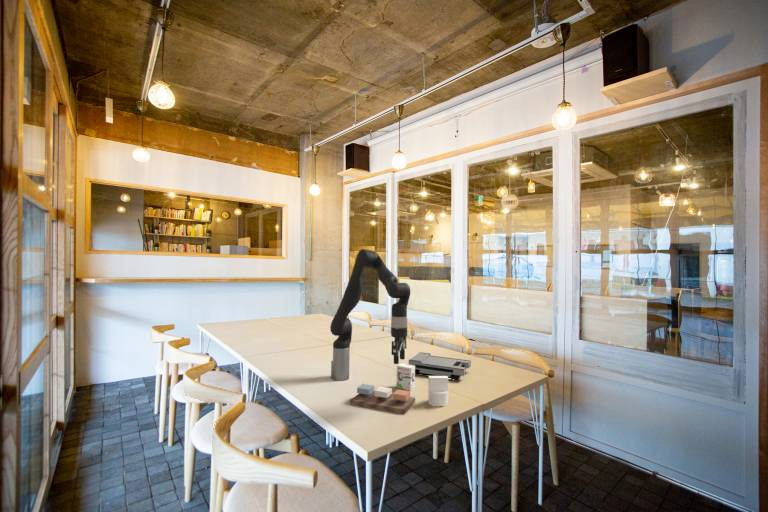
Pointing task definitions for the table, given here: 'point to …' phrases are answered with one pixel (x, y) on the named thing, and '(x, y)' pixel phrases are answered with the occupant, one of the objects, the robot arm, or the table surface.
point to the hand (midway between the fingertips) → (399, 361)
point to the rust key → (401, 395)
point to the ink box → (405, 377)
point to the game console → (439, 365)
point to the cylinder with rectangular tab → (438, 390)
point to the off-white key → (383, 392)
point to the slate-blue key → (365, 389)
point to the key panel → (383, 403)
